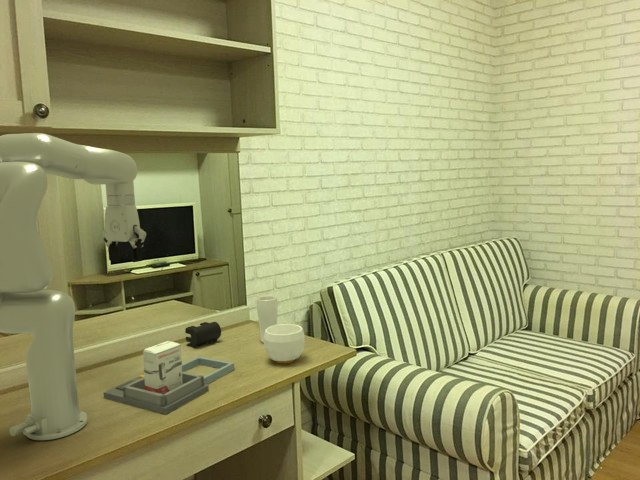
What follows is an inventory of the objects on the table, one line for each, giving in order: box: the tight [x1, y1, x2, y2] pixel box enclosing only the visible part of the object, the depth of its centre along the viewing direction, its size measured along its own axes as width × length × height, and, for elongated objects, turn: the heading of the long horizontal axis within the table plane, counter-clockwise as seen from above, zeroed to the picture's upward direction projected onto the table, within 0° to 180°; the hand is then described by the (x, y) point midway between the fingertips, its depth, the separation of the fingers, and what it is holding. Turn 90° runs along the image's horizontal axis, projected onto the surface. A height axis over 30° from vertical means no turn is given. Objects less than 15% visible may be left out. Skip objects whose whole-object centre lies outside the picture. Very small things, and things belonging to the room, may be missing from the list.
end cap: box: [184, 321, 222, 349], centre depth 173 cm, size 10×7×7 cm
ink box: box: [142, 340, 183, 394], centre depth 131 cm, size 9×5×12 cm, turn 148°
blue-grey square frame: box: [182, 356, 235, 385], centre depth 146 cm, size 14×14×2 cm
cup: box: [263, 323, 306, 364], centre depth 155 cm, size 12×12×10 cm
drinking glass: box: [256, 295, 278, 344], centre depth 173 cm, size 7×7×15 cm
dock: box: [102, 371, 210, 415], centre depth 133 cm, size 15×22×4 cm
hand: (125, 260), depth 149 cm, fingers open, 9 cm apart
